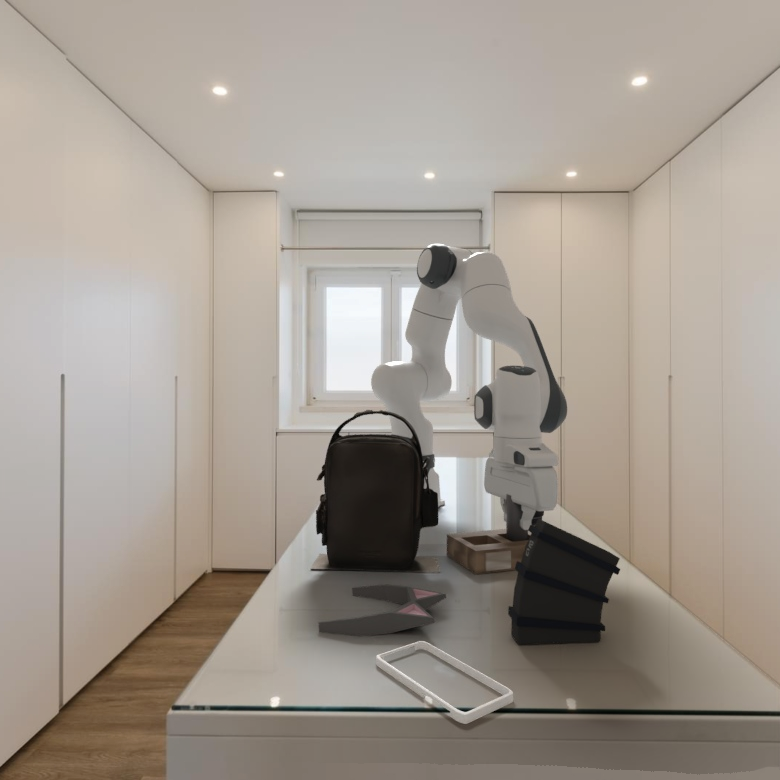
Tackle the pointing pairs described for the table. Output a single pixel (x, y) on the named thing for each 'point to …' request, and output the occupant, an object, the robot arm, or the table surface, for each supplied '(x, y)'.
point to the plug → (514, 521)
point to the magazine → (560, 588)
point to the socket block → (485, 550)
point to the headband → (390, 621)
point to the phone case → (422, 691)
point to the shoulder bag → (375, 502)
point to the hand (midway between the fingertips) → (517, 525)
